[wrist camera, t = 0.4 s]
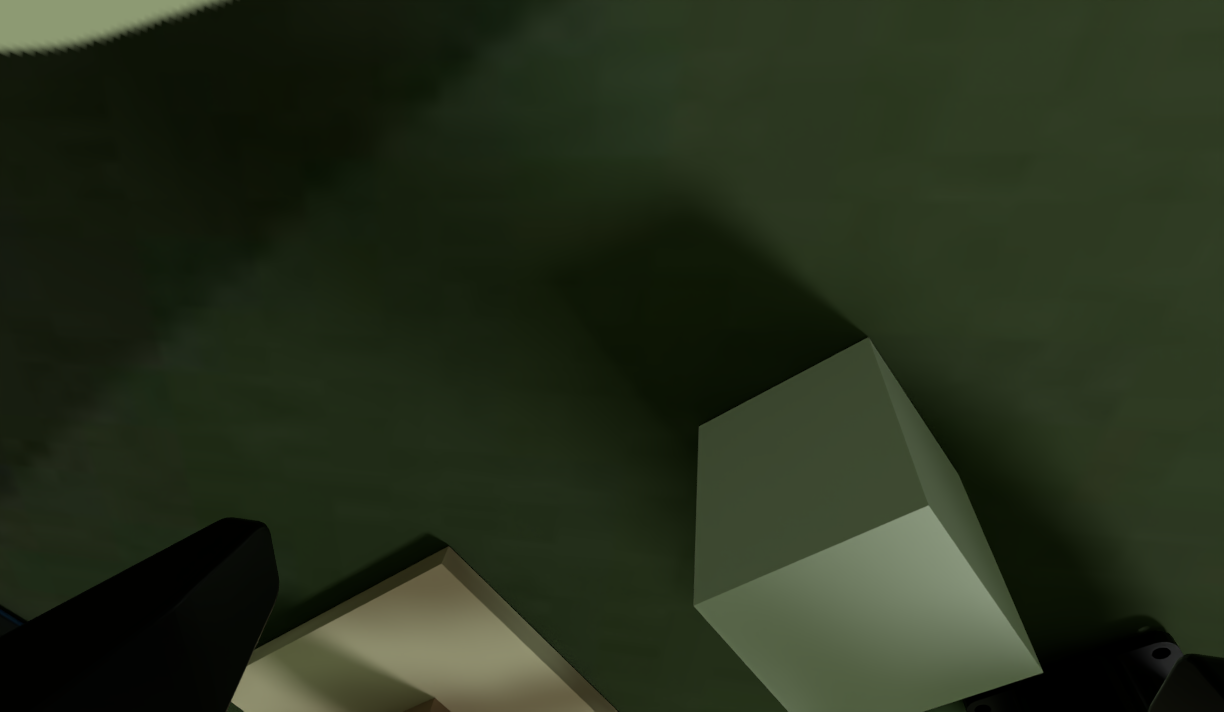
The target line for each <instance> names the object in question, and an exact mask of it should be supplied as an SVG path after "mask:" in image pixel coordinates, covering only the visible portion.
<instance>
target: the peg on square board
mask: <svg viewBox="0 0 1224 712" xmlns="http://www.w3.org/2000/svg"><path fill="white" fill-rule="evenodd" d="M231 702H233V703H234V704H235V705H236V706H238V707H239V708H240V709H242V710H243V711H244V712H618V711H617V710H616V709H615V708H614V707H613V706H612V705H611V704H610V703H609V702H608V701H607V700H606V699H605V698H604V697H603V696H602V695H601V694H600V693H599V692H597V691H596V690H595V689H594V688H593V687H592V686H591V685H590V684H589V683H588V682H587V681H586V680H585V679H584V678H583V677H582V676H581V675H580V674H579V673H578V672H577V671H576V670H575V669H574V668H573V667H572V666H571V665H570V664H569V663H568V662H567V661H566V660H565V659H564V658H563V657H562V656H561V655H560V654H559V653H558V652H557V651H556V650H555V649H554V648H553V647H551V646H550V645H549V644H548V643H547V642H546V641H545V640H544V639H543V638H542V637H541V636H540V635H539V634H538V633H537V632H536V631H535V630H534V629H533V628H532V627H531V626H530V625H529V624H528V623H527V622H526V621H525V620H524V619H523V618H522V617H521V616H520V615H519V614H518V613H517V612H516V611H515V610H514V609H513V608H512V607H511V606H510V605H509V604H508V603H507V602H505V601H504V600H503V599H502V598H501V597H500V596H499V595H498V594H497V593H496V592H495V591H494V590H493V589H492V588H491V587H490V586H489V585H488V584H487V583H486V582H485V581H484V580H483V579H482V578H481V577H480V576H479V575H478V574H477V573H476V572H475V571H474V570H473V569H472V568H471V567H470V566H469V565H468V564H467V563H466V562H465V561H464V560H463V559H462V558H461V557H459V556H458V555H457V554H456V553H455V552H454V551H453V550H452V549H451V548H450V547H449V546H448V547H446V548H444V549H442V550H440V551H439V552H437V553H435V554H433V555H431V556H429V557H427V558H426V559H424V560H422V561H420V562H418V563H416V564H414V565H412V566H411V567H409V568H407V569H405V570H403V571H401V572H399V573H397V574H396V575H394V576H392V577H390V578H388V579H386V580H384V581H383V582H381V583H379V584H377V585H375V586H373V587H371V588H369V589H368V590H366V591H364V592H362V593H360V594H358V595H356V596H354V597H353V598H351V599H349V600H347V601H345V602H343V603H341V604H339V605H338V606H336V607H334V608H332V609H330V610H328V611H326V612H325V613H323V614H321V615H319V616H317V617H315V618H313V619H311V620H310V621H308V622H306V623H304V624H302V625H300V626H298V627H296V628H295V629H293V630H291V631H289V632H287V633H285V634H283V635H282V636H280V637H278V638H276V639H274V640H272V641H270V642H268V643H267V644H265V645H263V646H261V647H259V648H257V649H255V650H254V652H253V654H252V656H251V658H250V661H249V663H248V665H247V667H246V669H245V672H244V674H243V676H242V678H241V681H240V683H239V685H238V687H237V689H236V692H235V694H234V696H233V698H232V701H231Z"/></svg>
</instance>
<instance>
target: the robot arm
mask: <svg viewBox="0 0 1224 712" xmlns="http://www.w3.org/2000/svg"><path fill="white" fill-rule="evenodd" d="M278 590H279V576H278V571H277V565H276V560H275V555H274V550H273V544H272V539H271V534H270V531H269V528H268V527H267V526H266V524H265V523H262V522H260V521H255V520H248V519H241V518H234V517H230V518H224V519H221V520H219V521H217V522H215V523H213V524H211V525H209V526H207V527H205V528H203V529H201V530H200V531H198V532H196V533H194V534H192V535H190V536H188V537H186V538H185V539H183V540H181V541H179V542H177V543H175V544H173V545H171V546H169V547H168V548H166V549H164V550H162V551H160V552H158V553H156V554H154V555H153V556H151V557H149V558H147V559H145V560H143V561H141V562H139V563H137V564H136V565H134V566H132V567H130V568H128V569H126V570H124V571H122V572H121V573H119V574H117V575H115V576H113V577H111V578H109V579H107V580H105V581H104V582H102V583H100V584H98V585H96V586H94V587H92V588H90V589H89V590H87V591H85V592H83V593H81V594H79V595H77V596H75V597H73V598H72V599H70V600H68V601H66V602H64V603H62V604H60V605H58V606H56V607H55V608H53V609H51V610H49V611H47V612H45V613H43V614H41V615H40V616H38V617H36V618H34V619H32V620H30V621H28V622H26V623H24V624H23V625H21V626H19V627H17V628H15V629H13V630H11V631H9V632H8V633H6V634H4V635H2V636H0V712H227V709H228V707H229V705H230V703H231V701H232V698H233V696H234V694H235V692H236V689H237V687H238V685H239V683H240V681H241V678H242V676H243V674H244V672H245V669H246V667H247V665H248V663H249V661H250V658H251V656H252V654H253V652H254V649H255V647H256V645H257V643H258V640H259V638H260V636H261V634H262V632H263V629H264V627H265V625H266V623H267V620H268V618H269V616H270V614H271V612H272V609H273V607H274V605H275V602H276V599H277V596H278ZM1042 670H1043V673H1041V674H1038V675H1035V676H1031V677H1028V678H1025V679H1022V680H1019V681H1016V682H1013V683H1010V684H1007V685H1004V686H1001V687H998V688H995V689H992V690H988V691H985V692H982V693H979V694H976V695H973V696H970V697H967V698H964V699H963V701H964V704H965V708H966V711H967V712H1224V658H1220V657H1213V656H1206V655H1200V654H1186V655H1183V654H1182V652H1181V650H1180V648H1179V647H1178V645H1177V644H1176V642H1175V640H1174V639H1173V637H1172V636H1171V635H1170V634H1169V633H1166V632H1162V631H1154V632H1149V633H1146V634H1143V635H1140V636H1137V637H1134V638H1131V639H1128V640H1125V641H1122V642H1119V643H1116V644H1113V645H1110V646H1107V647H1103V648H1100V649H1097V650H1094V651H1091V652H1088V653H1085V654H1082V655H1079V656H1076V657H1073V658H1070V659H1067V660H1064V661H1061V662H1058V663H1055V664H1052V665H1049V666H1045V667H1042Z"/></svg>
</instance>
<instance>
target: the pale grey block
mask: <svg viewBox="0 0 1224 712" xmlns="http://www.w3.org/2000/svg"><path fill="white" fill-rule="evenodd" d="M694 607H695V608H696V609H697V610H698V611H699V612H700V614H701V615H702V616H703V617H704V618H705V619H706V620H707V621H708V622H709V624H710V625H711V626H712V627H713V628H714V629H715V630H716V631H717V633H718V634H719V635H720V636H721V637H722V638H723V639H724V640H725V641H726V643H727V644H728V645H729V646H730V647H731V648H732V649H733V650H734V651H735V653H736V654H737V655H738V656H739V657H740V658H741V659H742V660H743V662H744V663H745V664H746V665H747V666H748V667H749V668H750V669H751V670H752V672H753V673H754V674H755V675H756V676H757V677H758V678H759V679H760V680H761V682H762V683H763V684H764V685H765V686H766V687H767V688H768V689H769V691H770V692H771V693H772V694H773V695H774V696H775V697H776V698H777V699H778V701H779V702H780V703H781V704H782V705H783V706H784V707H785V708H786V710H787V711H788V712H924V711H927V710H930V709H933V708H936V707H939V706H942V705H945V704H948V703H952V702H955V701H958V700H961V699H964V698H967V697H970V696H973V695H976V694H979V693H982V692H985V691H988V690H992V689H995V688H998V687H1001V686H1004V685H1007V684H1010V683H1013V682H1016V681H1019V680H1022V679H1025V678H1028V677H1031V676H1035V675H1038V674H1041V673H1043V670H1042V668H1041V666H1040V663H1039V661H1038V659H1037V656H1036V654H1035V652H1034V649H1033V647H1032V645H1031V642H1030V640H1029V638H1028V635H1027V633H1026V631H1025V628H1024V626H1023V624H1022V621H1021V619H1020V617H1019V614H1018V612H1017V610H1016V607H1015V605H1014V603H1013V600H1012V598H1011V596H1010V593H1009V591H1008V589H1007V586H1006V584H1005V582H1004V579H1003V577H1002V575H1001V572H1000V570H999V568H998V565H997V563H996V561H995V558H994V556H993V554H992V552H991V549H990V547H989V545H988V542H987V540H986V538H985V535H984V533H983V531H982V528H981V526H980V524H979V521H978V519H977V517H976V514H975V512H974V510H973V507H972V505H971V503H970V500H969V498H968V496H967V493H966V491H965V489H964V486H963V484H962V482H961V479H960V477H959V475H958V473H957V472H956V470H955V469H954V467H953V466H952V464H951V463H950V461H949V459H948V458H947V456H946V455H945V453H944V452H943V450H942V449H941V447H940V446H939V444H938V443H937V441H936V440H935V438H934V437H933V435H932V433H931V432H930V430H929V429H928V427H927V426H926V424H925V423H924V421H923V420H922V418H921V417H920V415H919V414H918V412H917V411H916V409H915V408H914V406H913V404H912V403H911V401H910V400H909V398H908V397H907V395H906V394H905V392H904V391H903V389H902V388H901V386H900V385H899V383H898V382H897V380H896V379H895V377H894V375H893V374H892V372H891V371H890V369H889V368H888V366H887V365H886V363H885V362H884V360H883V359H882V357H881V356H880V354H879V353H878V351H877V350H876V348H875V346H874V345H873V343H872V342H871V340H870V339H869V337H868V338H866V339H864V340H862V341H860V342H858V343H856V344H855V345H853V346H851V347H849V348H847V349H845V350H843V351H841V352H839V353H837V354H836V355H834V356H832V357H830V358H828V359H826V360H824V361H822V362H820V363H818V364H817V365H815V366H813V367H811V368H809V369H807V370H805V371H803V372H801V373H799V374H798V375H796V376H794V377H792V378H790V379H788V380H786V381H784V382H782V383H780V384H779V385H777V386H775V387H773V388H771V389H769V390H767V391H765V392H763V393H762V394H760V395H758V396H756V397H754V398H752V399H750V400H748V401H746V402H744V403H743V404H741V405H739V406H737V407H735V408H733V409H731V410H729V411H727V412H725V413H724V414H722V415H720V416H718V417H716V418H714V419H712V420H710V421H708V422H706V423H705V424H703V425H701V426H699V436H698V470H697V504H696V538H695V572H694Z"/></svg>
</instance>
